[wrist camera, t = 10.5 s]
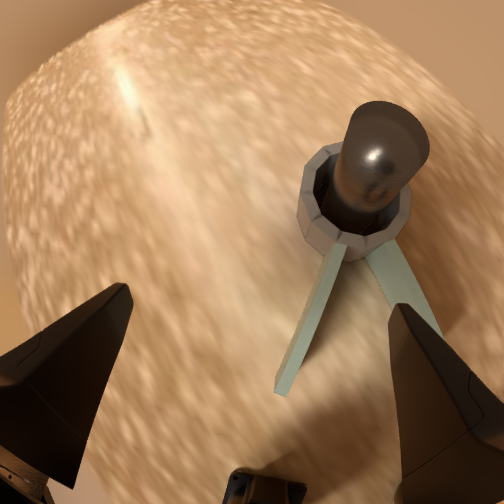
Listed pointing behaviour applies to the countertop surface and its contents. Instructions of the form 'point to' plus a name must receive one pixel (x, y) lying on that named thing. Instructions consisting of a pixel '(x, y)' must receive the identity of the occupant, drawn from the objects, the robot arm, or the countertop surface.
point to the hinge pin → (373, 164)
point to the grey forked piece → (348, 259)
